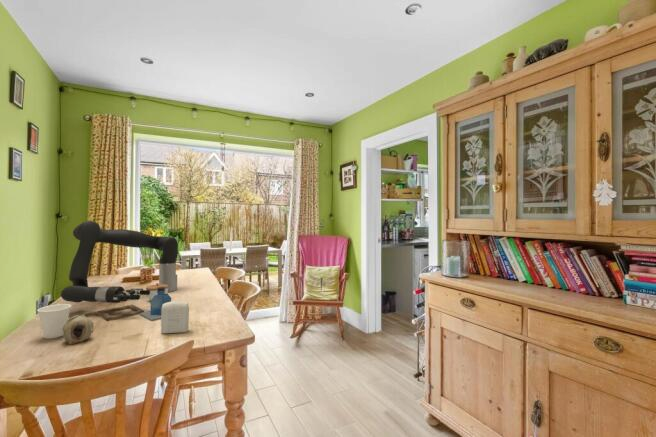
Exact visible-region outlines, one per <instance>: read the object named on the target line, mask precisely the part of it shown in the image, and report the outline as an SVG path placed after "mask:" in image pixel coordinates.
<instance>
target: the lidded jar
mask: <svg viewBox="0 0 656 437" xmlns="http://www.w3.org/2000/svg"><path fill="white" fill-rule="evenodd" d="M158 287H165V294H168V293H169V292H168V285H167V284H159V282H157V283H156V284H150V285H147V286H146V288H145V290H150V295H146V297H147V299H148V300H150V301H151V300H152V298H153V297H154V295H157V294H158V293H157V290H158V289H157V288H158Z"/></svg>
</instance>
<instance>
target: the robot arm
mask: <svg viewBox="0 0 656 437" xmlns="http://www.w3.org/2000/svg"><path fill="white" fill-rule="evenodd" d="M72 236H74V238H75V239H76V240H78V241H79V243H78V248H77V249H76V250H77V251H76V253H75V255H74V257H73V260H72V263H71V265H70V270H69V273H68V280H69V281H70V282H72V285H69V286H66V287H64V288H63V289H62V290H61V292H60V297H61V299H62V300H64V301H67V302H72V303H82V302H88V303H101V304H102V303H103V304H104V303H105V304H107V303H109V304H119V303H121V302H128V301H133V300H135V301H136V300H137V301H138V300H140V299H141V296H147V295H150V290H146V289H144V288H130V289H124V287H123V286H120V285H119V286H113V285H110V286H108V285H106V286H89V285H88V283H89V282H88V275H89V271H90V270H89V269H90V266H91V265H90V264H91V261H92V260H91V259H92V256H93V252H94V249H95V247H96V244H97V243H105V244H110V245H115V246H122V247H130V248H138V249H139V248H141V249H143V248H144V249H145V248H149V249H153V250H158V251H161V252H162V254H161V255H162V256H161V257H160V258H159V260H158V262H159V264H158V266H159V270H158V284H167V285H168V293H171V292H172V293H173V292H176V291H178V274H177V260H178V254H179V252H178V250H179V243H178V240H177V238H175V237H172V236H157V235H150V234H147V233H144V232H141V231H137V230H132V229H131V230H130V229H104V228H101V226H100V224H99V223H97V222H96V221H94V220H87V221H84V222H81V223H80V224H78V225H77V226H76V227H75V228H74V229H73V230H72Z"/></svg>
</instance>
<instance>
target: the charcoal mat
mask: <svg viewBox="0 0 656 437" xmlns="http://www.w3.org/2000/svg"><path fill="white" fill-rule="evenodd" d="M138 315H139V316H141V317H143V318H145V319H147V320H148V321H151V322H154V321H158V320H161V315H151V310H147V311H144V312H142V313H139V314H138Z"/></svg>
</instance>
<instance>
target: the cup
mask: <svg viewBox="0 0 656 437" xmlns="http://www.w3.org/2000/svg"><path fill="white" fill-rule="evenodd" d="M71 308H72V304H69V303H58V304H52V305H46V306H42V307H39V308H38V309H37V310H36V311H37V312H38V317H39V321H40V325H41V330H42V336H43V338H45V339H48V340H49V339H51V340H53V339H58V338H60V337H63V330H62V328H63V326H64V324H65V323H66V322H67V320H68V319H69V316H70V312H71Z"/></svg>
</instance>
